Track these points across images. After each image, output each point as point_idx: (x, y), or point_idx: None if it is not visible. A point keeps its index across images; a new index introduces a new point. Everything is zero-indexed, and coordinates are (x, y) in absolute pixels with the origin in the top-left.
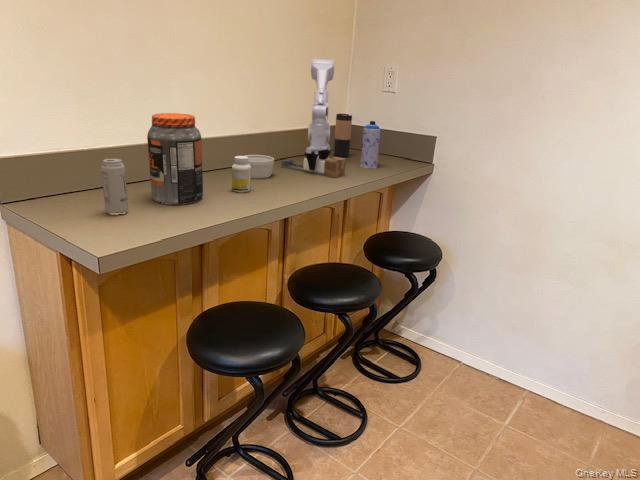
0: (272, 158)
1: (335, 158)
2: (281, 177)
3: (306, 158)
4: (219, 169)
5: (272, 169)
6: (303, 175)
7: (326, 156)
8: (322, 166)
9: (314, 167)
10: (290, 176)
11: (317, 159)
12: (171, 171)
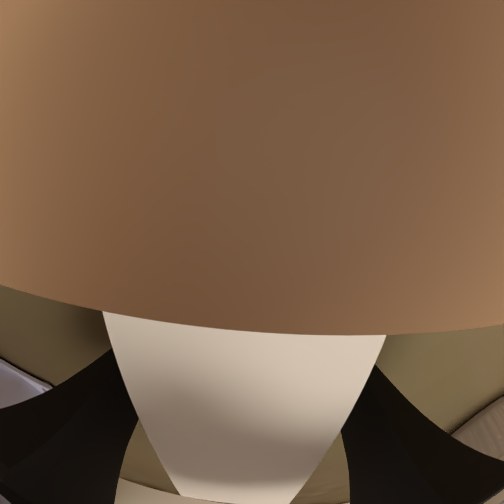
0: None
1: (116, 8)
2: (500, 375)
3: (266, 501)
4: None
5: (499, 425)
6: (439, 346)
7: (62, 428)
8: None
9: (375, 371)
10: (479, 369)
11: (215, 464)
12: None
